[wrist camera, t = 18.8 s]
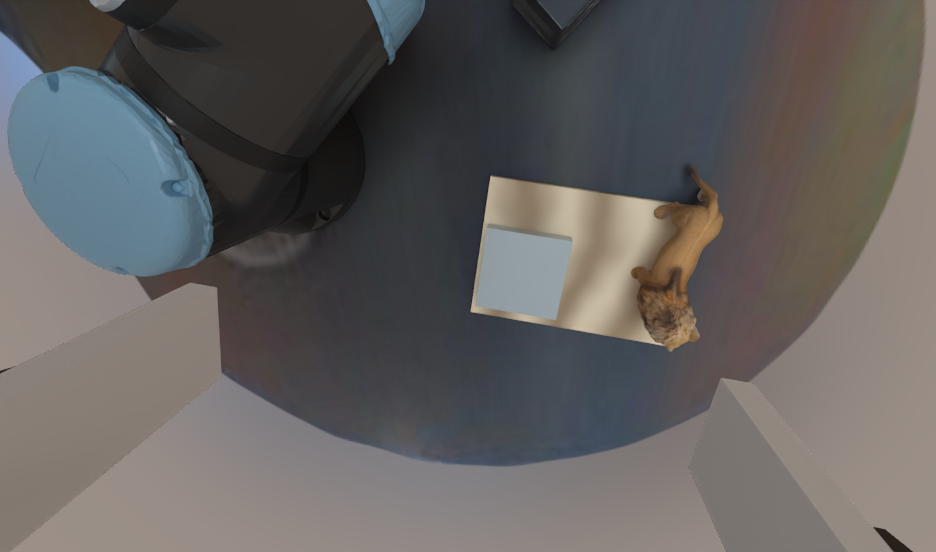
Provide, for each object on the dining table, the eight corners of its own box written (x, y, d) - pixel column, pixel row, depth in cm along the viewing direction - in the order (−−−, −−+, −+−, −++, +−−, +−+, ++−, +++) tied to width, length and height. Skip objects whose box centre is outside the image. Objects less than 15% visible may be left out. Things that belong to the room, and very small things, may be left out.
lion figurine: (673, 318, 46) (705, 363, 37) (618, 309, 46) (637, 351, 38) (719, 167, 41) (768, 179, 32) (658, 158, 41) (690, 168, 33)
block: (488, 223, 45) (477, 299, 48) (486, 227, 43) (475, 305, 46) (571, 236, 44) (555, 312, 47) (572, 241, 43) (555, 320, 45)
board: (471, 308, 49) (470, 311, 48) (491, 175, 45) (490, 176, 44) (663, 341, 48) (666, 346, 47) (704, 207, 43) (708, 209, 42)
